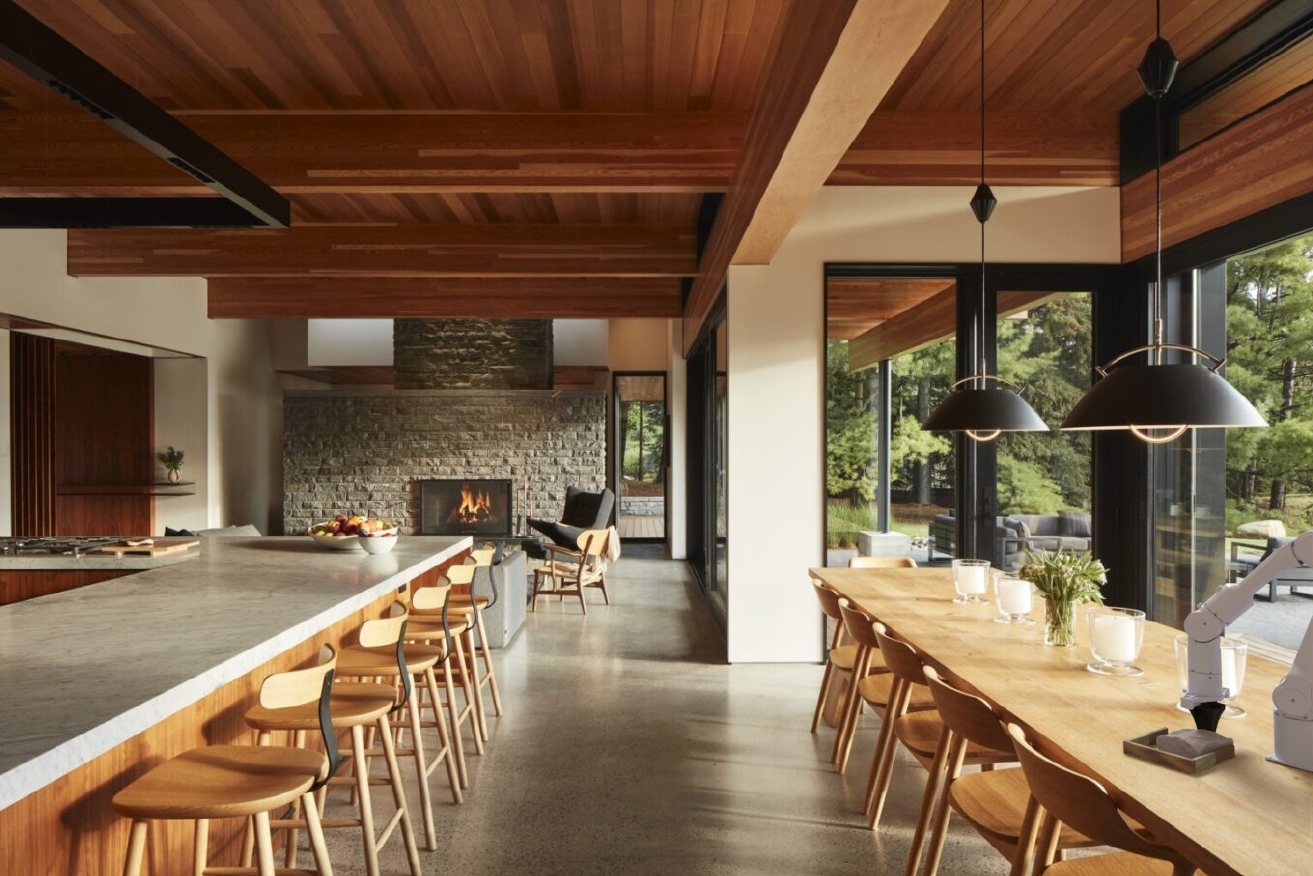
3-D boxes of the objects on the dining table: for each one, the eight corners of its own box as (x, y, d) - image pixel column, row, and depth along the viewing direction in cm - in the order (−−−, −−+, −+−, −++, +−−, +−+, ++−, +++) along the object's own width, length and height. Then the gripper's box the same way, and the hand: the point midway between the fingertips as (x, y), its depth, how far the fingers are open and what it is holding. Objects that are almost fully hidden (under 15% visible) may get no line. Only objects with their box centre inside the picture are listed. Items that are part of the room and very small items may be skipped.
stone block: (1152, 760, 162) (1204, 766, 154) (1147, 734, 163) (1199, 738, 155) (1188, 751, 168) (1240, 756, 159) (1183, 726, 169) (1235, 730, 160)
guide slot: (1234, 757, 158) (1234, 745, 158) (1192, 773, 151) (1192, 761, 151) (1165, 738, 169) (1165, 727, 170) (1123, 752, 162) (1122, 741, 162)
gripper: (1202, 661, 173) (1204, 727, 173) (1163, 671, 166) (1165, 740, 165) (1240, 668, 167) (1242, 736, 167) (1201, 679, 160) (1203, 750, 159)
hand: (1206, 739), depth 166 cm, fingers closed
